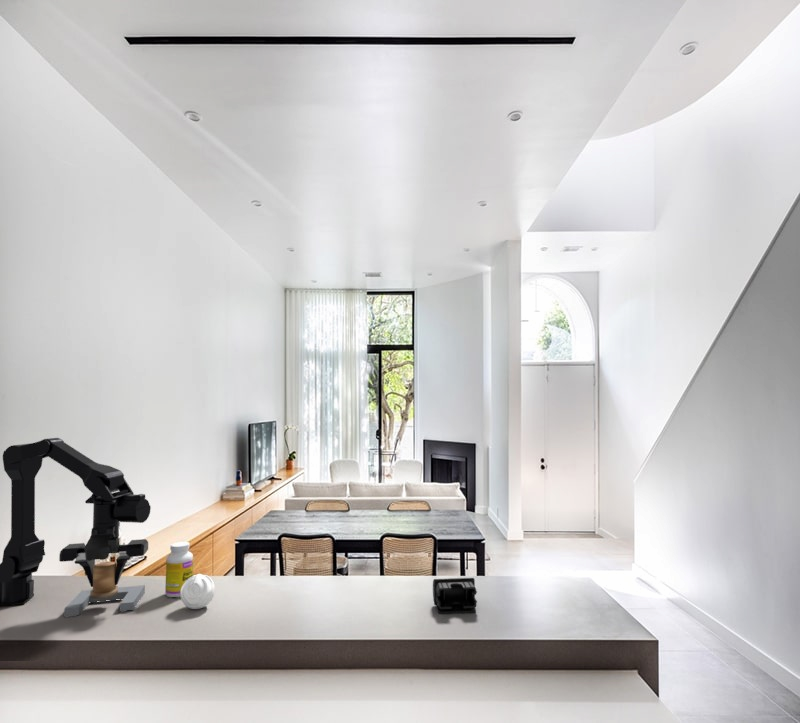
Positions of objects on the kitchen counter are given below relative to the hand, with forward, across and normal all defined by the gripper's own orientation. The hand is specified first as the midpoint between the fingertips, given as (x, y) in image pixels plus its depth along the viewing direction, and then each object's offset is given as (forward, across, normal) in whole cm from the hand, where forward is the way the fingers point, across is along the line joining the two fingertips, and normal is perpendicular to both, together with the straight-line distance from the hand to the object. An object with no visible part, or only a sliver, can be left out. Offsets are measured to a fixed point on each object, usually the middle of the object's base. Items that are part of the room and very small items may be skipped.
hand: (104, 585), depth 133 cm
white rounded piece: (+6, +23, -6) cm, 24 cm away
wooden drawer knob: (+2, 0, 0) cm, 2 cm away
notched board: (+5, 0, +2) cm, 6 cm away
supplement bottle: (+6, +17, +5) cm, 18 cm away
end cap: (+5, +84, -22) cm, 87 cm away
